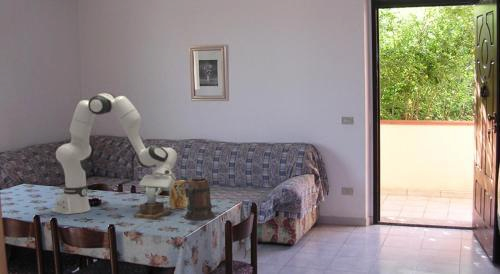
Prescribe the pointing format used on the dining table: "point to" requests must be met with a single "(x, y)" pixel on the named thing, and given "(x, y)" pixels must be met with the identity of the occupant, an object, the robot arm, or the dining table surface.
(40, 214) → the dining table surface
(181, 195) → the candy box
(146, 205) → the slot stand
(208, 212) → the tankard
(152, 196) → the grey peg
